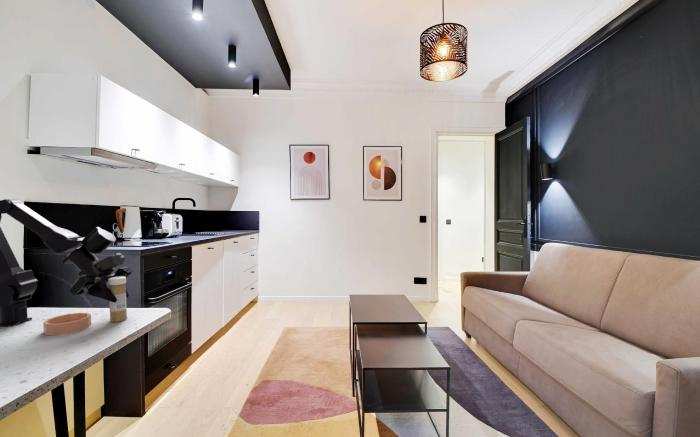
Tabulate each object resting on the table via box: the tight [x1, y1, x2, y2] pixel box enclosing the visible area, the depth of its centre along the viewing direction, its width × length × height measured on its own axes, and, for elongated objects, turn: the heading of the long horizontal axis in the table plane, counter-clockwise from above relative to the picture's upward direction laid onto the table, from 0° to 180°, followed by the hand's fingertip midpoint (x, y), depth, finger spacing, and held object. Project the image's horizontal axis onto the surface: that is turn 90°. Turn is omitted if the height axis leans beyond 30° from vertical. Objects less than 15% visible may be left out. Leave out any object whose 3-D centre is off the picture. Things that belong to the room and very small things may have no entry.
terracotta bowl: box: [43, 312, 92, 336], centre depth 96 cm, size 10×10×3 cm
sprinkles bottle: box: [107, 277, 128, 323], centre depth 103 cm, size 5×5×14 cm
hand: (121, 299), depth 103 cm, fingers closed on sprinkles bottle, 4 cm apart
